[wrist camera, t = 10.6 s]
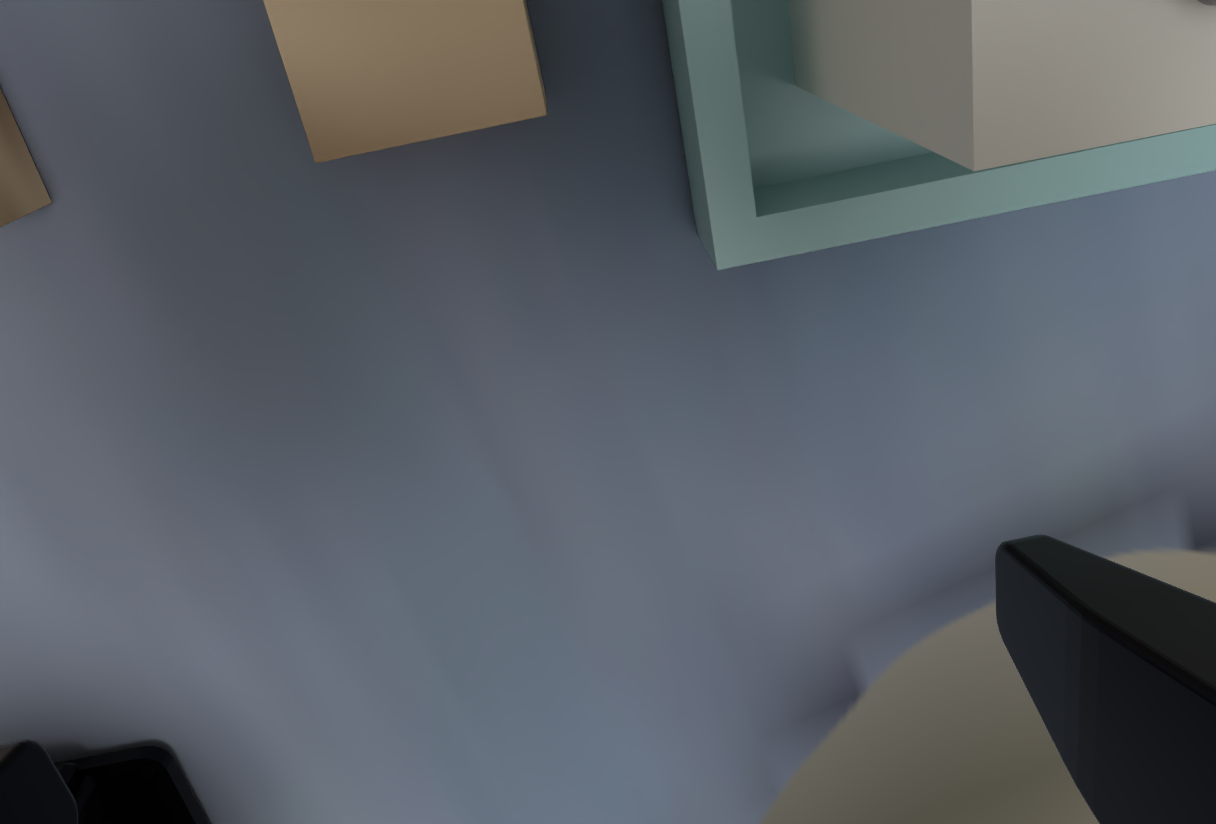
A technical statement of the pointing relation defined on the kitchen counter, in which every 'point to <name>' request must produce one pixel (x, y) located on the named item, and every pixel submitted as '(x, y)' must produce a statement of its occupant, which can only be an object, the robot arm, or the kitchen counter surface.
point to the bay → (369, 79)
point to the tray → (846, 151)
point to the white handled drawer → (1011, 71)
